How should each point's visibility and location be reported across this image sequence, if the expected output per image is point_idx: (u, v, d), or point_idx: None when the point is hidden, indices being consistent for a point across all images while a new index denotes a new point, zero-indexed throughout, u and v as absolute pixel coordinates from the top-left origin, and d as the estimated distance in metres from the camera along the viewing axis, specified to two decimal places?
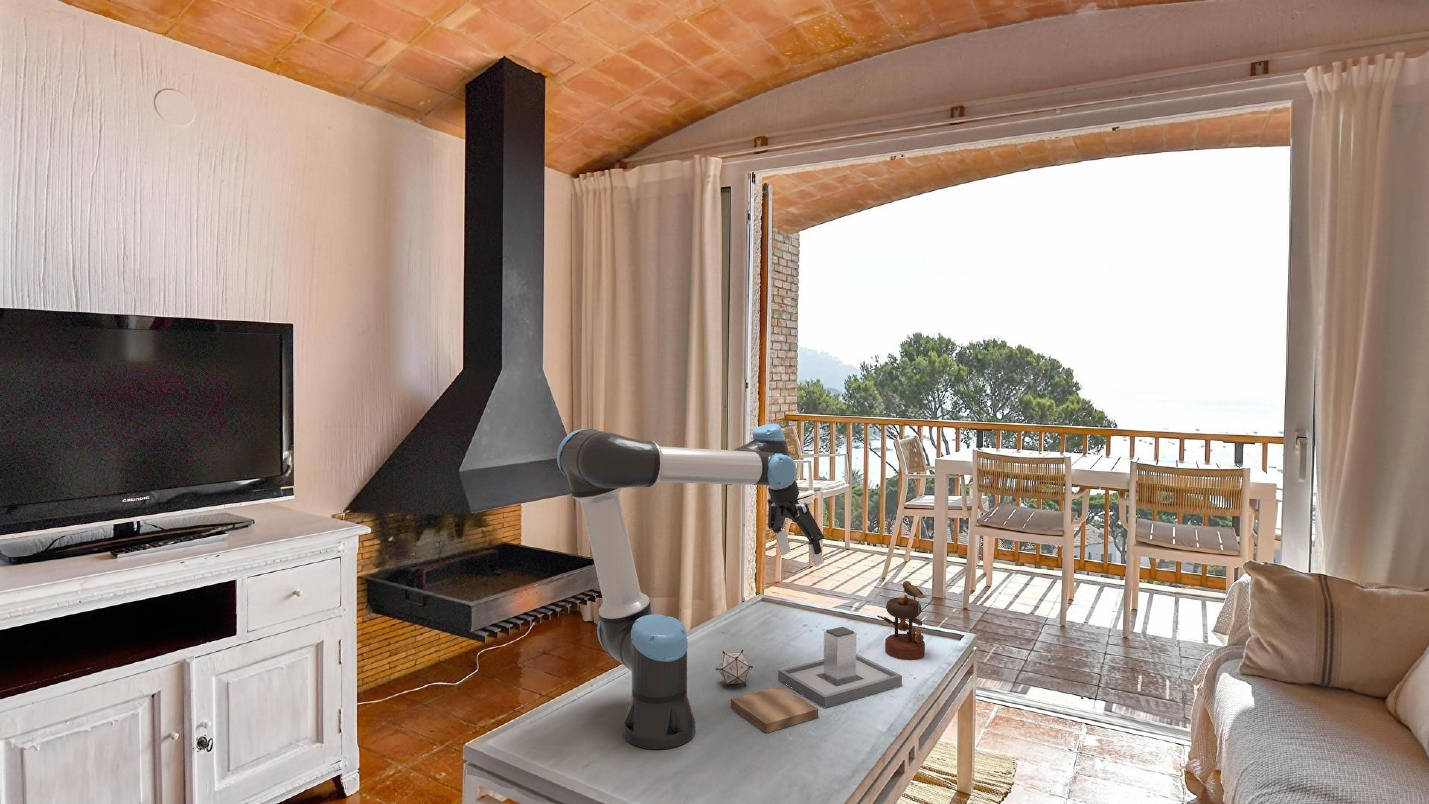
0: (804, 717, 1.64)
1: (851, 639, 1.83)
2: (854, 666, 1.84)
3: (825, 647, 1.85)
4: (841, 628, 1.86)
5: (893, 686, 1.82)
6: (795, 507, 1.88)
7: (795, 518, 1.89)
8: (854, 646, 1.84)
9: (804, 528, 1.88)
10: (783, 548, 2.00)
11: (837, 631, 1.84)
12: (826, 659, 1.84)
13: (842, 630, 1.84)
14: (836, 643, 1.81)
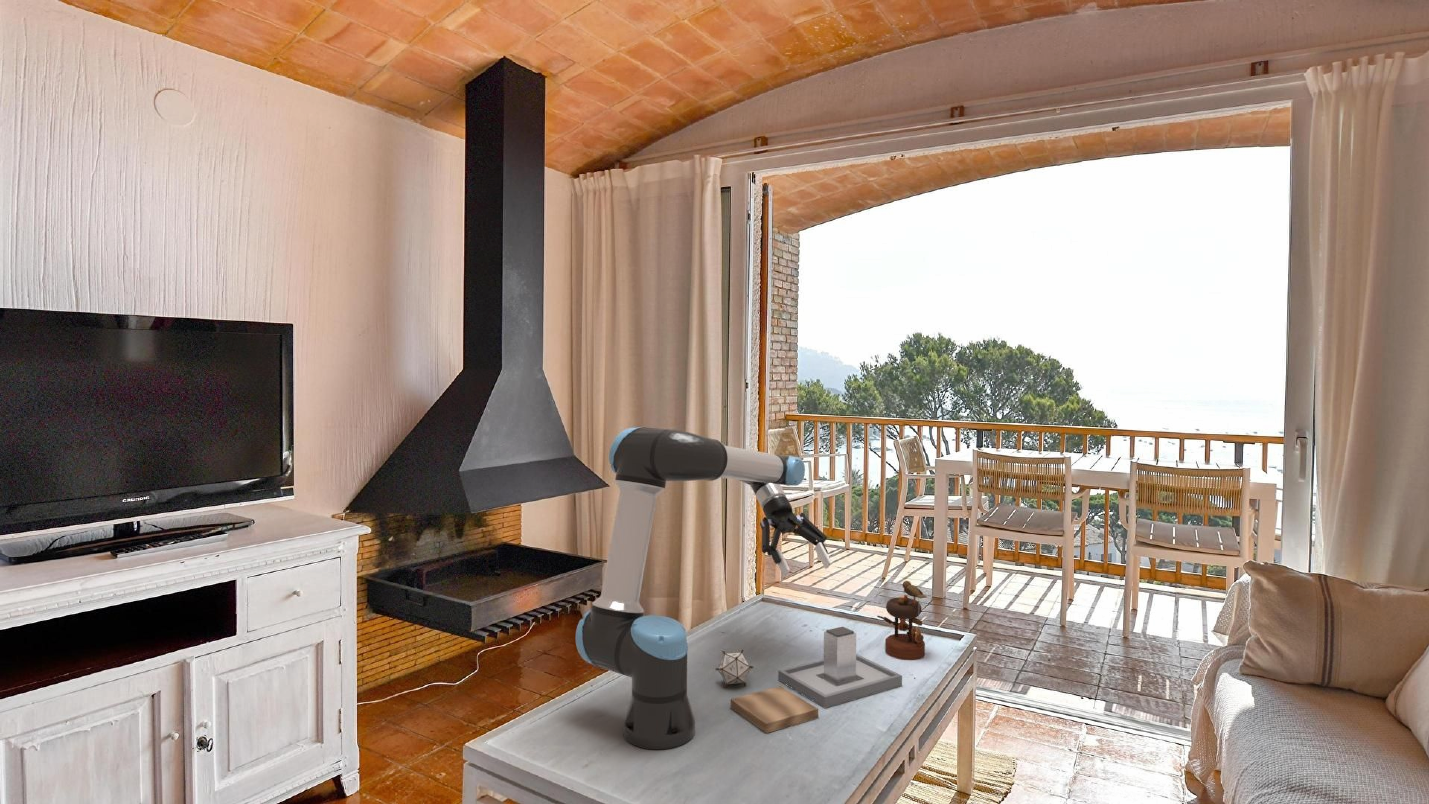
0: (804, 717, 1.64)
1: (851, 639, 1.83)
2: (854, 666, 1.84)
3: (825, 647, 1.85)
4: (841, 628, 1.86)
5: (893, 686, 1.82)
6: (796, 516, 2.06)
7: None
8: (854, 646, 1.84)
9: None
10: None
11: (837, 631, 1.84)
12: (826, 659, 1.84)
13: (842, 630, 1.84)
14: (836, 643, 1.81)
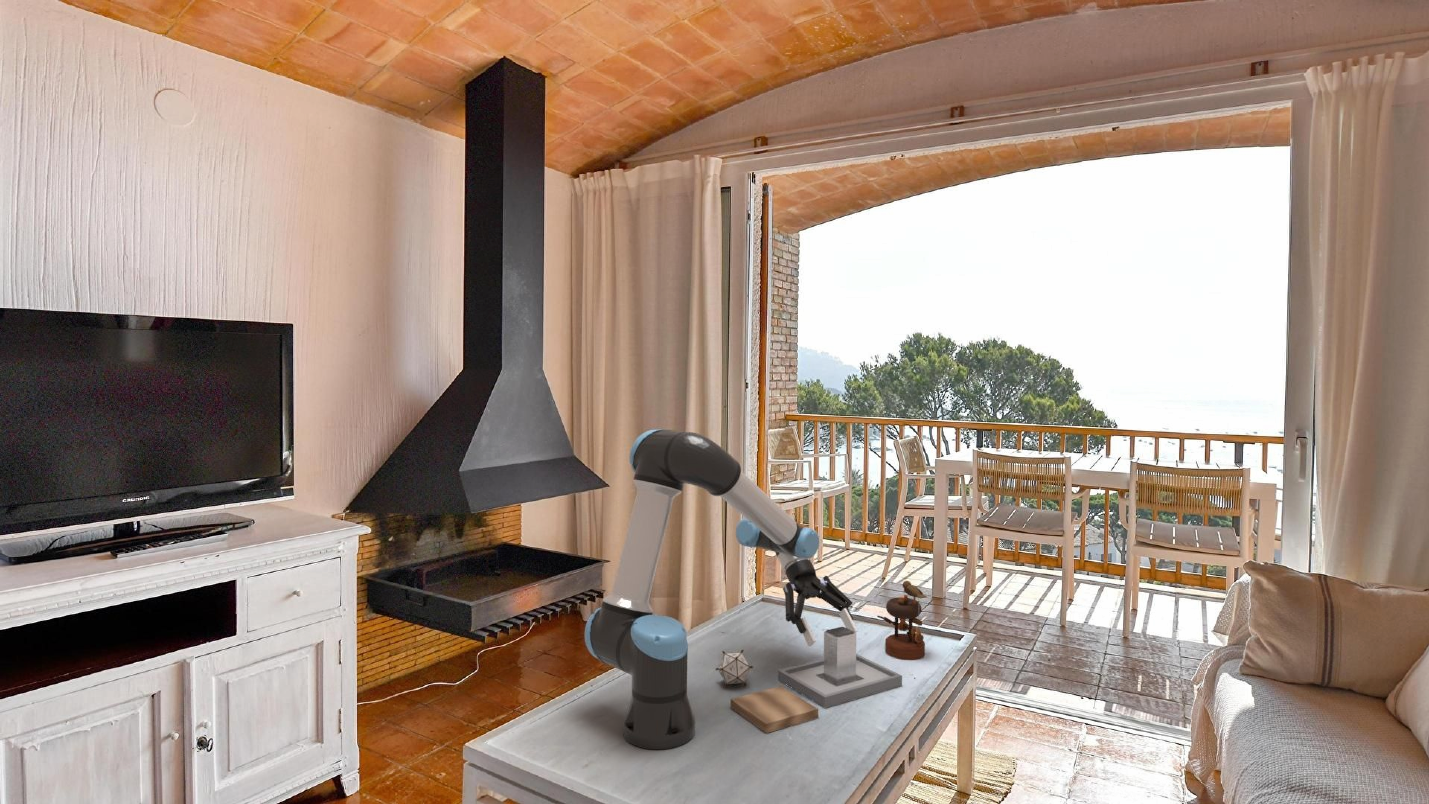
0: (804, 717, 1.64)
1: (851, 639, 1.83)
2: (854, 666, 1.84)
3: (825, 647, 1.85)
4: (841, 628, 1.86)
5: (893, 686, 1.82)
6: (820, 580, 1.99)
7: None
8: (854, 646, 1.84)
9: None
10: None
11: (837, 631, 1.84)
12: (826, 659, 1.84)
13: (842, 630, 1.84)
14: (836, 643, 1.81)
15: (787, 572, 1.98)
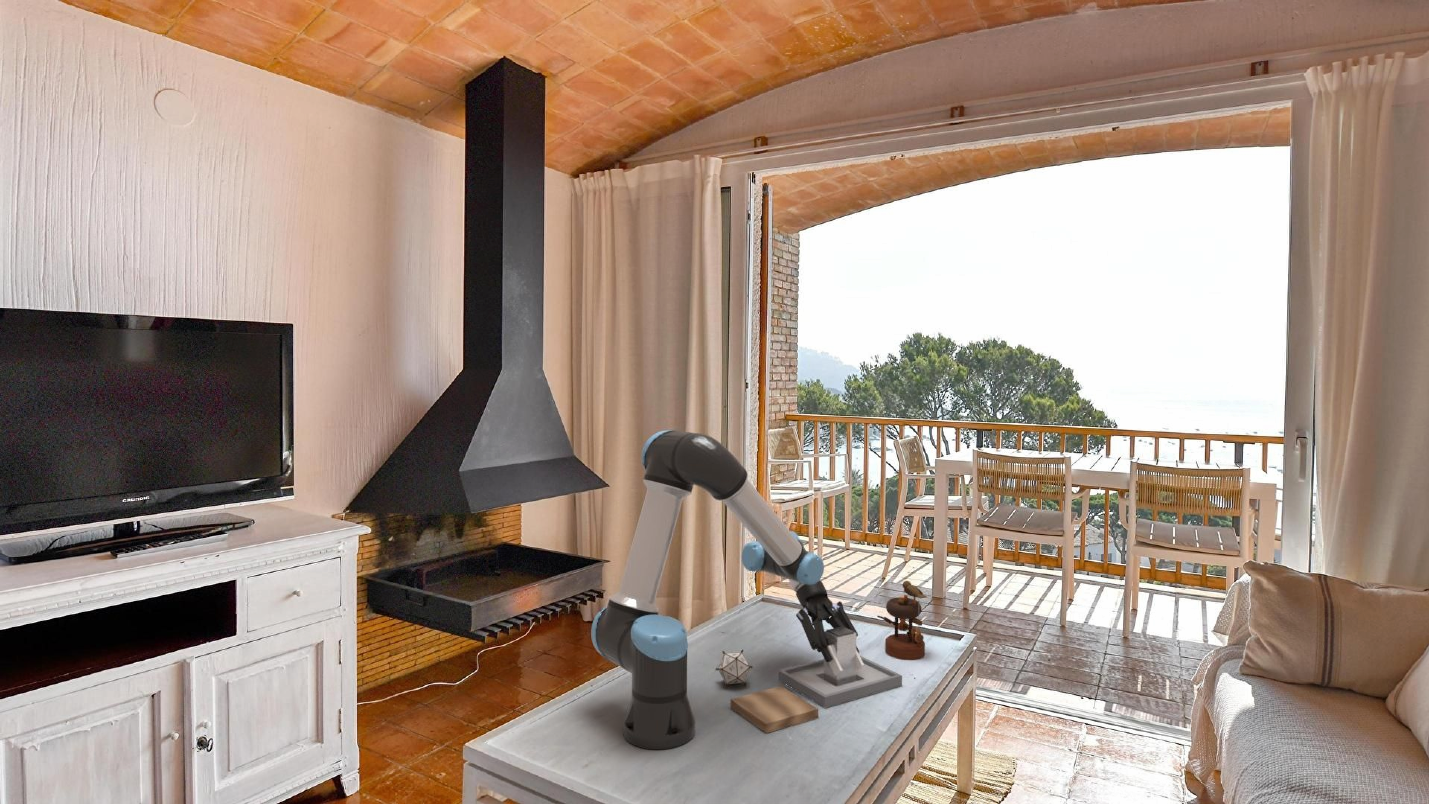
0: (804, 717, 1.64)
1: (851, 639, 1.83)
2: (854, 666, 1.84)
3: None
4: (841, 628, 1.86)
5: (893, 686, 1.82)
6: (831, 602, 1.94)
7: None
8: (854, 646, 1.84)
9: None
10: None
11: (837, 631, 1.84)
12: None
13: (842, 630, 1.84)
14: (836, 643, 1.81)
15: (798, 593, 1.93)
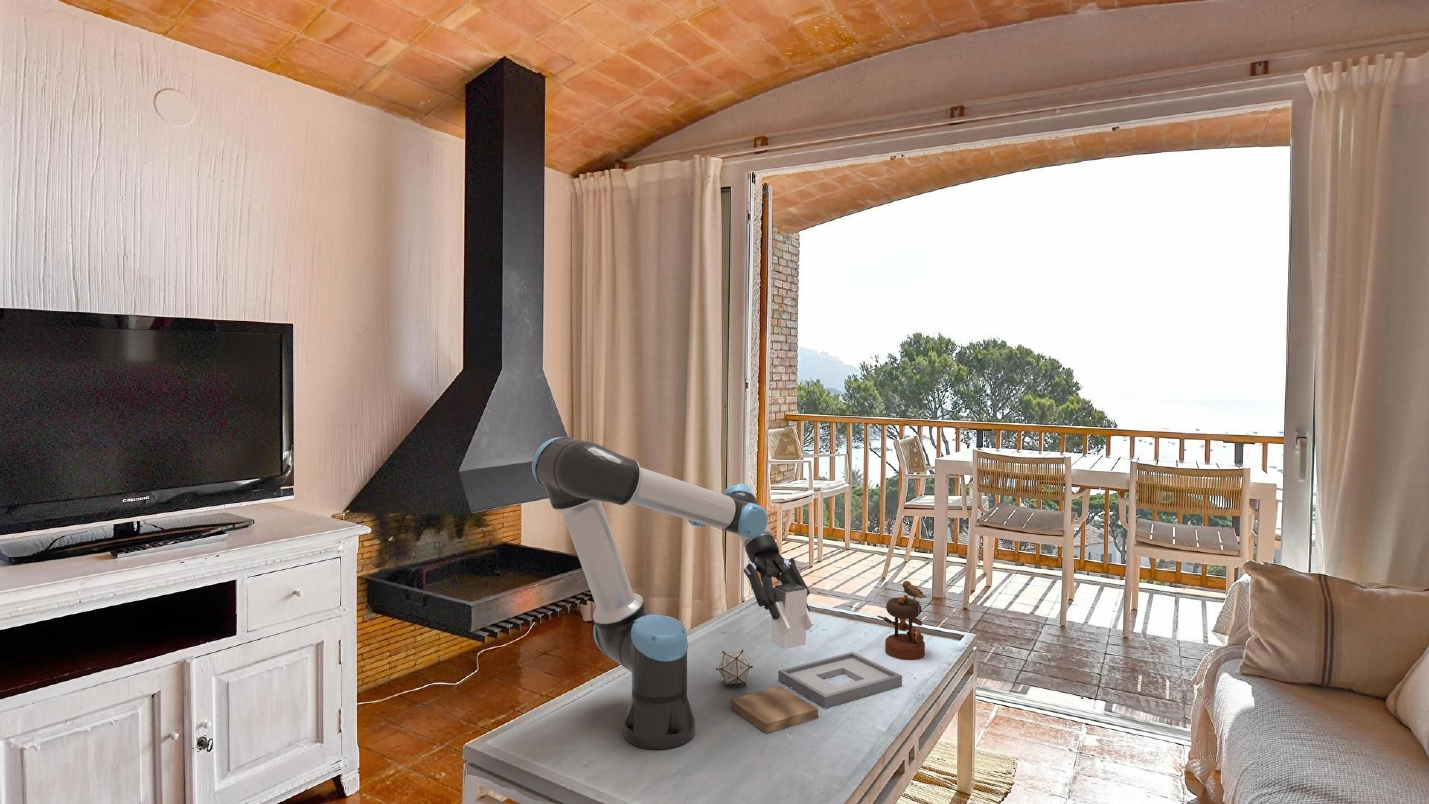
0: (804, 717, 1.64)
1: (801, 595, 1.69)
2: (804, 625, 1.70)
3: None
4: (791, 584, 1.73)
5: (893, 686, 1.82)
6: None
7: None
8: (804, 603, 1.70)
9: None
10: None
11: (786, 587, 1.70)
12: None
13: (792, 586, 1.71)
14: (784, 599, 1.67)
15: (747, 548, 1.79)
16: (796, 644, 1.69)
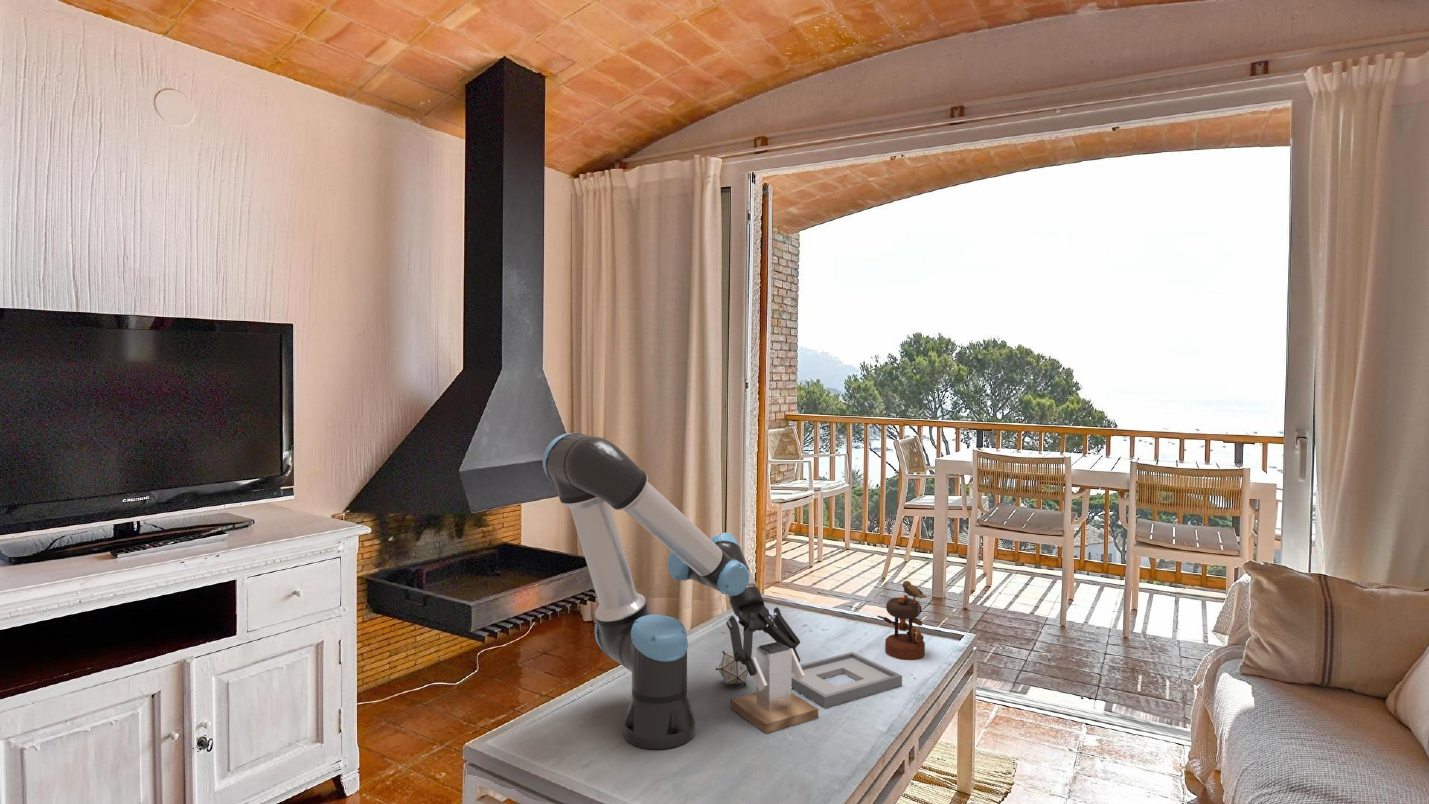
0: (804, 717, 1.64)
1: (785, 656, 1.67)
2: (789, 685, 1.68)
3: None
4: (776, 643, 1.70)
5: (893, 686, 1.82)
6: None
7: None
8: (789, 663, 1.67)
9: None
10: None
11: (771, 647, 1.68)
12: None
13: (776, 646, 1.68)
14: (768, 660, 1.65)
15: (731, 601, 1.76)
16: (781, 705, 1.67)
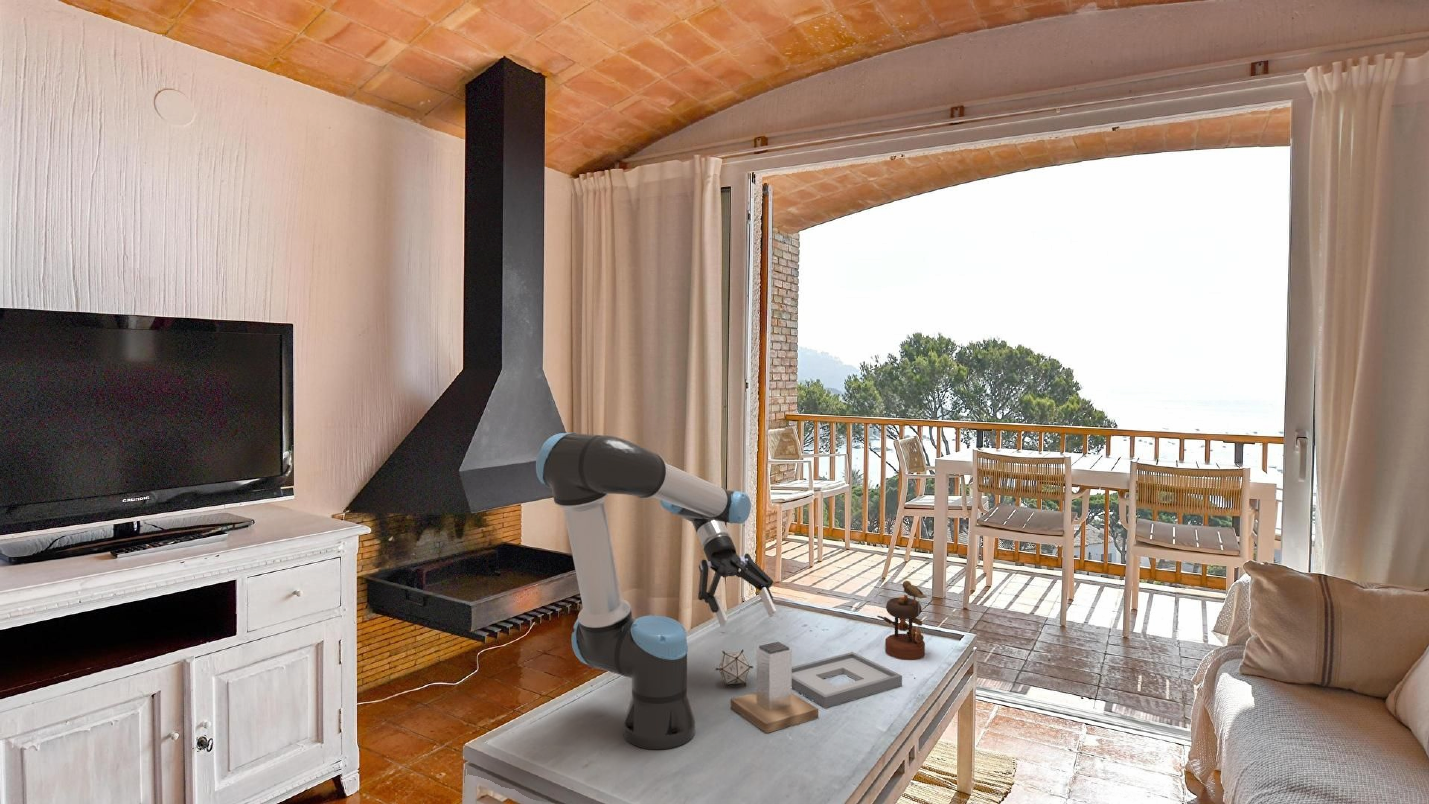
0: (804, 717, 1.64)
1: (785, 656, 1.67)
2: (789, 685, 1.68)
3: (758, 665, 1.68)
4: (776, 643, 1.70)
5: (893, 686, 1.82)
6: (740, 558, 1.88)
7: None
8: (789, 663, 1.67)
9: None
10: None
11: (771, 647, 1.68)
12: (759, 677, 1.68)
13: (776, 646, 1.68)
14: (768, 660, 1.65)
15: (705, 549, 1.87)
16: (781, 705, 1.67)
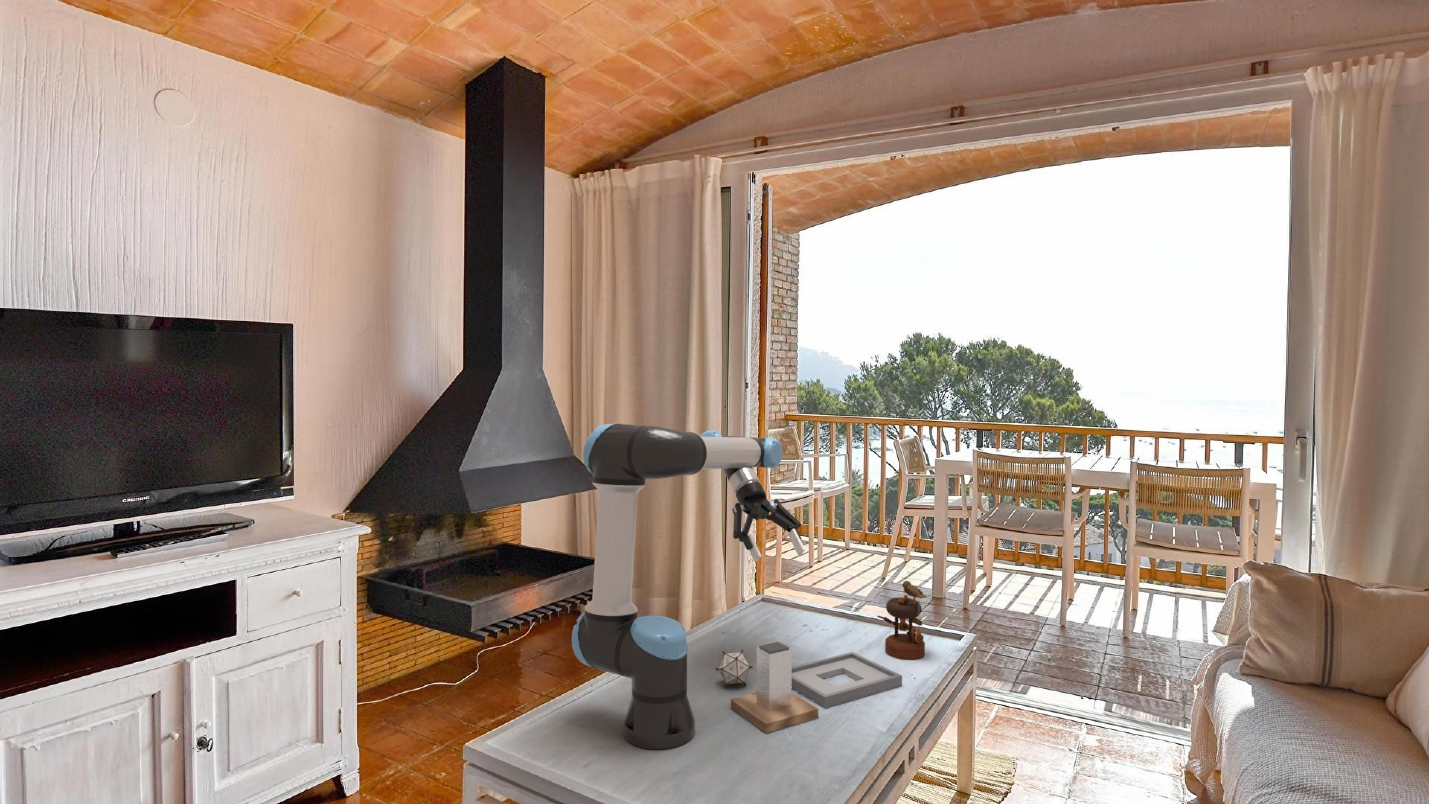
0: (804, 717, 1.64)
1: (785, 656, 1.67)
2: (789, 685, 1.68)
3: (758, 665, 1.68)
4: (776, 643, 1.70)
5: (893, 686, 1.82)
6: (770, 503, 2.02)
7: None
8: (789, 663, 1.67)
9: None
10: None
11: (771, 647, 1.68)
12: (759, 677, 1.68)
13: (776, 646, 1.68)
14: (768, 660, 1.65)
15: (737, 494, 2.01)
16: (781, 705, 1.67)
